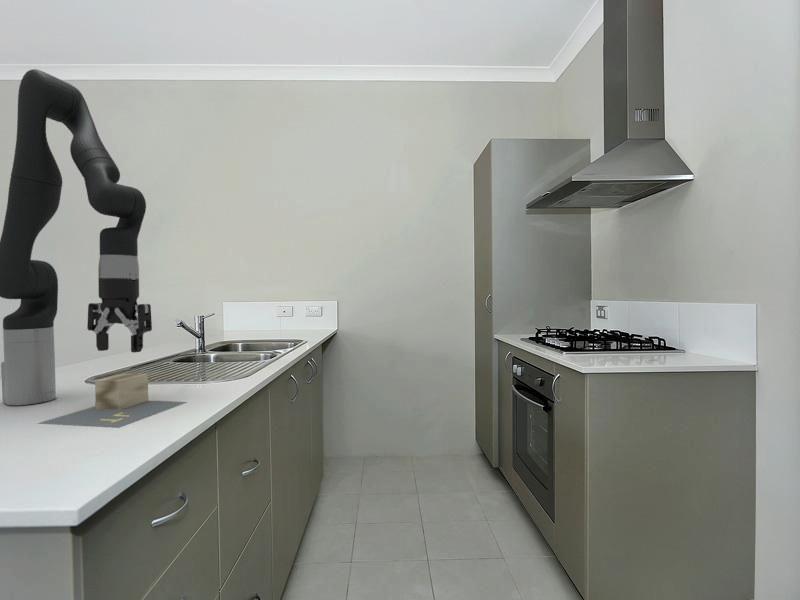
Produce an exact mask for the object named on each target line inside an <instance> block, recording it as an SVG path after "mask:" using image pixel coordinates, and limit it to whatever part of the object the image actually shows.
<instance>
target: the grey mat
mask: <svg viewBox="0 0 800 600" xmlns="http://www.w3.org/2000/svg"><path fill="white" fill-rule="evenodd" d="M186 403H188V401H173V400H172V401H168V400H167V401H166V400H148V401H145V402H142V403H139V404H136V405H133V406H130V407H127V408H124V409H121V410H116V409H96V405H95V406H91V407H88V408H84V409H81V410H78V411H75V412H71V413H68V414H64V415H61V416H58V417H53V418H51V419H46V420H44V421H41V422H38V423H37V424H41V425H56V426H57V425H58V426H60V425H61V426H74V427H91V428H92V427H95V428H112V429H113V428H116V429H120V428H122V427H125V426H127V425H130V424H133V423H135V422H139V421H141V420H144V419H146V418H149V417H152V416H155V415H157V414H159V413H162V412H166V411H168V410H170V409H173V408H176V407H179V406H181V405H184V404H186Z"/></svg>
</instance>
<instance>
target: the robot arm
mask: <svg viewBox="0 0 800 600" xmlns="http://www.w3.org/2000/svg"><path fill="white" fill-rule="evenodd" d="M47 119H50V120H52V121H54V122H57V123H62V125H64V126H65V127H66V128H67V129H68V131H70V133H71V135H72V139H71V142H70V146H69V147H70V149H69V150H70V157H71V158H72V160H73V163H74V165H75V166H76V168H77V170H78V171H79V173H80V174H81V176H82V178H83V180H84V185H85V190H86V195H87V200H88V202H89V205H90V206H91V208H93V210H95V212H97V213H98V214H101V215H104V216H109V217H116V218H119V219H118V222H117V223H116V226H113V227H105V228H103V229H101V230H100V231H99V261H98V277H97V278H98V279H97V280H98V298H99V299H101V302H93V303H92V302H91V303H88V307H87V328H86V329H87V330H88V331H91V332H94V333H95V335H96V337H95V338H96V339H95V341H96V348H97V351H99V352H103V351H108V350H109V349H110V348H109V347H110V346H109V345H110V344H109V340H110V339H109V333H108V332H109V330H110V329H111V328H112V327H113V326H114V325H115V324H119V325H124V327H125V328H127V329H128V330H129V331H130V333H131V335H130V351H131V353H140V352H141V351H142V350H143V347H144V334H145V333H148V332H151V331H152V330H153V325H152V324H153V323H152V310H151V309H152V307H151V304H149V303H139V304H138V301H137V300H138V299H139V298H140V265H139V258H138V256H139V253H138V250H139V249H138V245H139V244H138V238H139V235H140V231H141V228H142V224H143V221H144V218H145V215H146V210H147V202H146V199H145V196H144V194H143V193H142V192H141V191H140V190H139V189H138V188H135V187H132V186H128V185H124V184H119V183H118V182H119V181H120V179H121V172H120V170H119V168H118V165H117V164H116V162H115V161H114V159H113V158H112V156H111V155H110V153H109V152H108V150H107V148H106V147H105V144H104V143H103V141H102V139H101V137H100V136H99V133H98V130H97V128H96V124H95V122H94V119H93V118H92V115H91V112H90V110H89V106H88V103H87V102H86V100H85V97H84V96H83V94H82V93H81V91H80V90H79V89H78V87H75V86H74V85H72V84H70V83H69V82H67V81H66V80H65V81H64V80H63V79H60V78H58V77H56V76H54V75H51V74H50V73H48V72H44V71H43V70H41V69H37V68H33V69H29V70H27V71H26V72H25V73H24V75H23V76H22V78H21V80H20V84H19V86H18V96H17V122H16V123H17V124H16V141H15V146H14V147H15V148H14V157H13V163H12V169H11V174H10V178H9V186H8V194H7V202H6V203H7V204H6V210H5V216H4V221H3V226H2V227H3V228H2V231H1V236H0V298H2V299H5V300H6V299H7V300H20V305H19V307H18V308H17V309H16V310H15V311H13V312H12V313H10V314H8V315H6V316H4V317H3V319H2V334H3V335H2V340H3V361H2V362H1V364H0V369H1V371H0V373H1V396H2V397H1V400H2V401H1V403H2V404H5V405H6V406H26V405H27V406H28V405H34V404H41V403H45V402H48V401H49V402H50V401H53V400H55V399H56V398H57V391H56V390H57V388H56V387H57V385H56V382H57V381H56V357H55V356H56V355H55V329H54V328H55V327H54V326H55V325H54V324H55V323H54V321H55V318H56V316H57V312H58V302H59V301H58V297H59V295H58V294H59V279H58V274H57V272H56V271H57V270H55V268H54V266H53V265H51V264H50V263H49V262H47V261H44V260H39V259H38V260H37V259H32V254H33V247H34V244H35V242H36V239H37V237H38V235H39V234H40V233H41V231H42V230H43V229H44V228H45V227H46V225H47V224H48V223H49V222H50V221H51V220H52V218H53V217H54V215H56V213H57V211H58V209H59V207H60V203H61V197H62V196H61V195H62V189H63V188H62V187H63V177H62V173H61V171H60V168H59V166H58V164H57V162H56V159H55V156H54V154H53V152H52V149H51V148H50V145H49V142H48V138H47Z"/></svg>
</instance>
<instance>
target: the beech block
mask: <svg viewBox="0 0 800 600" xmlns="http://www.w3.org/2000/svg"><path fill="white" fill-rule="evenodd" d="M94 387H95V388H94V389H95V390H94V392H95V394H94V396H95V406H96V409H116V410H121V409H124V408H127V407H130V406H133V405H136V404H139V403H142V402H145V401H149V375H148V373H121V374H116V375H113V376H107V377H104V378H99V379H95V380H94Z"/></svg>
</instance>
